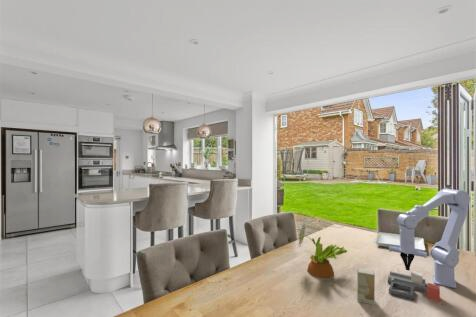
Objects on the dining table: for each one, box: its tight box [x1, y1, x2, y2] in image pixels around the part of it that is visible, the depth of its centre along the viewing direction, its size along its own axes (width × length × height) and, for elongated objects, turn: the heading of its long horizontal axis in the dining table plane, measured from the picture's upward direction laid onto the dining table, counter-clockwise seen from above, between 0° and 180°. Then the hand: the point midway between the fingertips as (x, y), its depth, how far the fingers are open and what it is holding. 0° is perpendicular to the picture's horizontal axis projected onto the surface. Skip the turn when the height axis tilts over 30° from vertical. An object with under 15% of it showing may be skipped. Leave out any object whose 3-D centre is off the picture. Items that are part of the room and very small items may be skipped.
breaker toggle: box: [410, 270, 423, 284], centre depth 114 cm, size 4×4×4 cm
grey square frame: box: [388, 281, 415, 301], centre depth 109 cm, size 8×8×2 cm
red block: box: [426, 282, 441, 302], centre depth 104 cm, size 4×4×5 cm
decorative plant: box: [297, 223, 348, 279], centre depth 128 cm, size 27×24×25 cm
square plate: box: [374, 231, 427, 252], centre depth 169 cm, size 27×27×4 cm
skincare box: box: [356, 267, 376, 305], centre depth 103 cm, size 6×4×12 cm
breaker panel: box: [387, 270, 426, 293], centre depth 117 cm, size 10×14×2 cm
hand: (407, 269), depth 116 cm, fingers closed
